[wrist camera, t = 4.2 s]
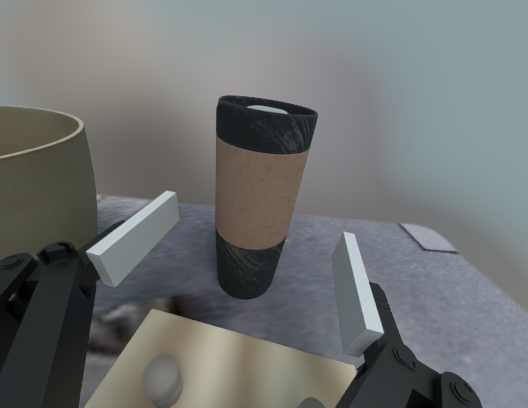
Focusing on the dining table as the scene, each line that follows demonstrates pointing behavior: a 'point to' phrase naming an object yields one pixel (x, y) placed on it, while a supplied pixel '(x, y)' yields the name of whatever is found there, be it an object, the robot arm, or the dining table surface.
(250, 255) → the travel mug
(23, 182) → the plant pot
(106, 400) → the post base
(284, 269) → the dining table surface
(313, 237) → the dining table surface
